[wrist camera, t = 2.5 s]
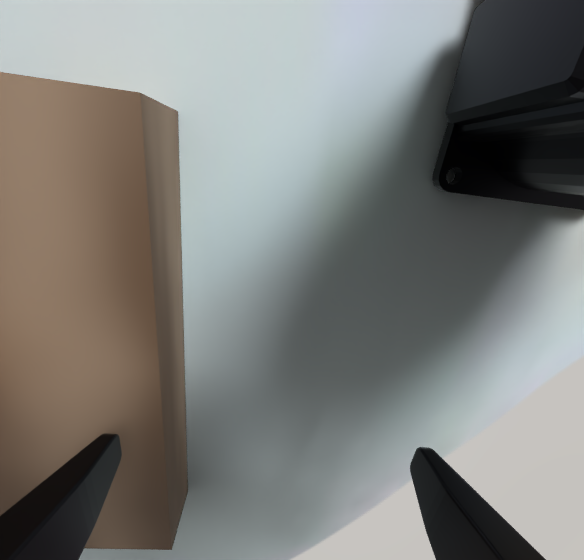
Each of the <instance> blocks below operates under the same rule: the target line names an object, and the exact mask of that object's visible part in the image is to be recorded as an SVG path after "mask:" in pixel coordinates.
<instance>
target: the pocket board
mask: <svg viewBox="0 0 584 560" xmlns="http://www.w3.org/2000/svg"><path fill="white" fill-rule="evenodd" d="M104 433H114V434H118V435H119V438H120V444H121V450H122V457H121V461H120V464H119V466H118V469H117V471H116V474H115V476H114V479H113V481H112V484H111V487H110V489H109V492H108V494H107V497H106V499H105V502H104V504H103V507H102V510H101V512H100V515H99V517H98V519H97V522H96V524H95V526H94V529H93V531H92V533H91V535H90V537H89V539H88V541H87V543H86V545H85V547H84V548H97V549H158V550H172V546H173V543H174V539H175V536H176V532H177V528H178V525H179V521H180V518H181V514H182V510H183V507H184V503H185V500H186V496H187V492H188V480H187V442H186V404H185V366H184V328H183V290H182V251H181V213H180V175H179V137H178V111H176V110H174V109H172V108H170V107H168V106H166V105H164V104H162V103H160V102H158V101H156V100H154V99H152V98H150V97H148V96H146V95H144V94H142V93H138V92H131V91H125V90H118V89H111V88H104V87H97V86H91V85H84V84H77V83H70V82H64V81H57V80H50V79H43V78H36V77H30V76H23V75H16V74H9V73H3V72H0V516H1V515H2V514H3V513H4V512H6V511H7V510H8V509H9V508H10V507H12V506H13V505H14V504H15V503H17V502H18V501H19V500H20V499H22V498H23V497H24V496H25V495H27V494H28V493H29V492H30V491H32V490H33V489H34V488H35V487H36V486H38V485H39V484H40V483H41V482H43V481H44V480H45V479H46V478H48V477H49V476H50V475H51V474H53V473H54V472H55V471H56V470H58V469H59V468H60V467H61V466H63V465H64V464H65V463H66V462H67V461H69V460H70V459H71V458H72V457H74V456H75V455H76V454H77V453H79V452H80V451H81V450H82V449H84V448H85V447H86V446H87V445H89V444H90V443H91V442H92V441H93V440H95V439H96V438H97V437H98V436H100V435H101V434H104Z"/></svg>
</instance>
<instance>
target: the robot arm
mask: <svg viewBox="0 0 584 560" xmlns="http://www.w3.org/2000/svg"><path fill="white" fill-rule="evenodd" d="M446 117H447V120H448V124H447V128H446V131H445V134H444V138H443V141H442V145H441V148H440V151H439V155H438V158H437V162H436V165H435V169H434V172H433V179H432V180H433V183H434V186H435V187H436V188H437V189H439V190H441V191H446V192H452V193H460V194H467V195H475V196H483V197H490V198H498V199H506V200H513V201H521V202H529V203H536V204H544V205H552V206H559V207H567V208H575V209H582V210H584V0H484V1H483V2H482V3H481V4H480V5H479V6H478V7H477V8H476V9H475V11H474V14H473V17H472V21H471V24H470V28H469V31H468V35H467V38H466V42H465V45H464V49H463V52H462V56H461V59H460V63H459V66H458V70H457V73H456V77H455V80H454V84H453V87H452V91H451V94H450V98H449V101H448V105H447V108H446ZM452 168H453V169H454V171H455V177H454V179H453V180H452V181H451V182H449V183H448V182H447V180H446V176H447V173H448V171H449V170H450V169H452ZM121 457H122V450H121V444H120V438H119V435H118V434H114V433H104V434H101V435H100V436H98V437H97V438H96V439H95V440H93V441H92V442H91V443H90V444H89V445H87V446H86V447H85V448H84V449H82V450H81V451H80V452H79V453H77V454H76V455H75V456H74V457H72V458H71V459H70V460H69V461H67V462H66V463H65V464H64V465H63V466H61V467H60V468H59V469H58V470H56V471H55V472H54V473H53V474H51V475H50V476H49V477H48V478H46V479H45V480H44V481H43V482H41V483H40V484H39V485H38V486H36V487H35V488H34V489H33V490H32V491H30V492H29V493H28V494H27V495H25V496H24V497H23V498H22V499H20V500H19V501H18V502H17V503H15V504H14V505H13V506H12V507H10V508H9V509H8V510H7V511H6V512H4V513H3V514H2V515H1V516H0V560H78V559H79V557H80V555H81V553H82V551H83V549H84V547H85V545H86V543H87V541H88V539H89V537H90V535H91V533H92V531H93V529H94V526H95V524H96V522H97V519H98V517H99V515H100V512H101V510H102V507H103V504H104V502H105V499H106V497H107V494H108V492H109V489H110V487H111V484H112V481H113V479H114V476H115V474H116V471H117V469H118V466H119V464H120V461H121ZM410 472H411V476H412V480H413V484H414V487H415V491H416V495H417V499H418V503H419V506H420V510H421V514H422V518H423V521H424V525H425V529H426V532H427V535H428V538H429V541H430V544H431V547H432V549H433V552H434V555H435V558H436V560H546V559H545V558H544V557H543V556H541V555H540V554H539V553H538V552H537V551H536V550H535V549H534V548H533V547H532V546H531V545H530V544H529V543H528V542H527V541H526V540H525V539H524V538H523V537H522V536H521V535H520V534H519V533H518V532H517V531H516V530H515V529H514V528H513V527H512V526H511V525H510V524H509V523H508V522H507V521H506V520H505V519H503V517H502V516H500V515H499V514H498V513H497V512H496V511H495V510H494V509H493V508H492V507H491V506H490V505H489V504H488V503H487V502H486V501H485V500H484V499H483V498H482V497H481V496H480V495H479V494H478V493H477V492H476V491H475V490H474V489H473V488H472V487H471V486H470V485H469V484H468V483H467V482H466V481H465V480H464V479H463V478H462V477H461V476H460V475H459V474H458V473H457V472H455V471H454V470H453V469H452V468H451V467H450V466H449V465H448V464H447V463H446V462H445V461H444V460H443V459H442V458H441V457H440V456H439V455H438V454H437V453H436V452H435V451H434V450H433V449H431V448H425V447H419V448H417V450H416V452H415V454H414V457H413V459H412V462H411V465H410Z"/></svg>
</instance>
